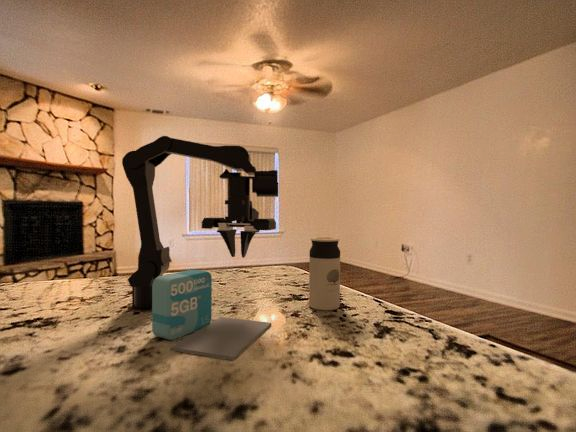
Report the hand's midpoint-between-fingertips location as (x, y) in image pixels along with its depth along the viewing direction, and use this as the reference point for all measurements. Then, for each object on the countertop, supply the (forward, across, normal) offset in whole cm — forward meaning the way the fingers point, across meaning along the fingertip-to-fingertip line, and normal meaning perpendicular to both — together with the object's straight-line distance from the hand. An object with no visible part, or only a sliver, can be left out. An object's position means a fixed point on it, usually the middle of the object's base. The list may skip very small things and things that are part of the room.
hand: (238, 257), depth 87 cm
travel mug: (+13, -21, -8) cm, 26 cm away
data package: (+13, +3, +19) cm, 23 cm away
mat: (+13, -7, +19) cm, 24 cm away
